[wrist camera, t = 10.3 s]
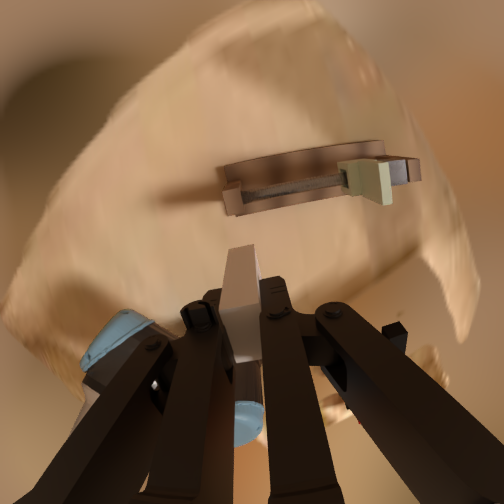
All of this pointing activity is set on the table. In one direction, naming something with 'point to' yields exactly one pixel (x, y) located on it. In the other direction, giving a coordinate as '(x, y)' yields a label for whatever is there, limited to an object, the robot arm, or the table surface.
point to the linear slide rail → (299, 174)
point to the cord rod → (319, 183)
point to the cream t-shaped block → (367, 179)
